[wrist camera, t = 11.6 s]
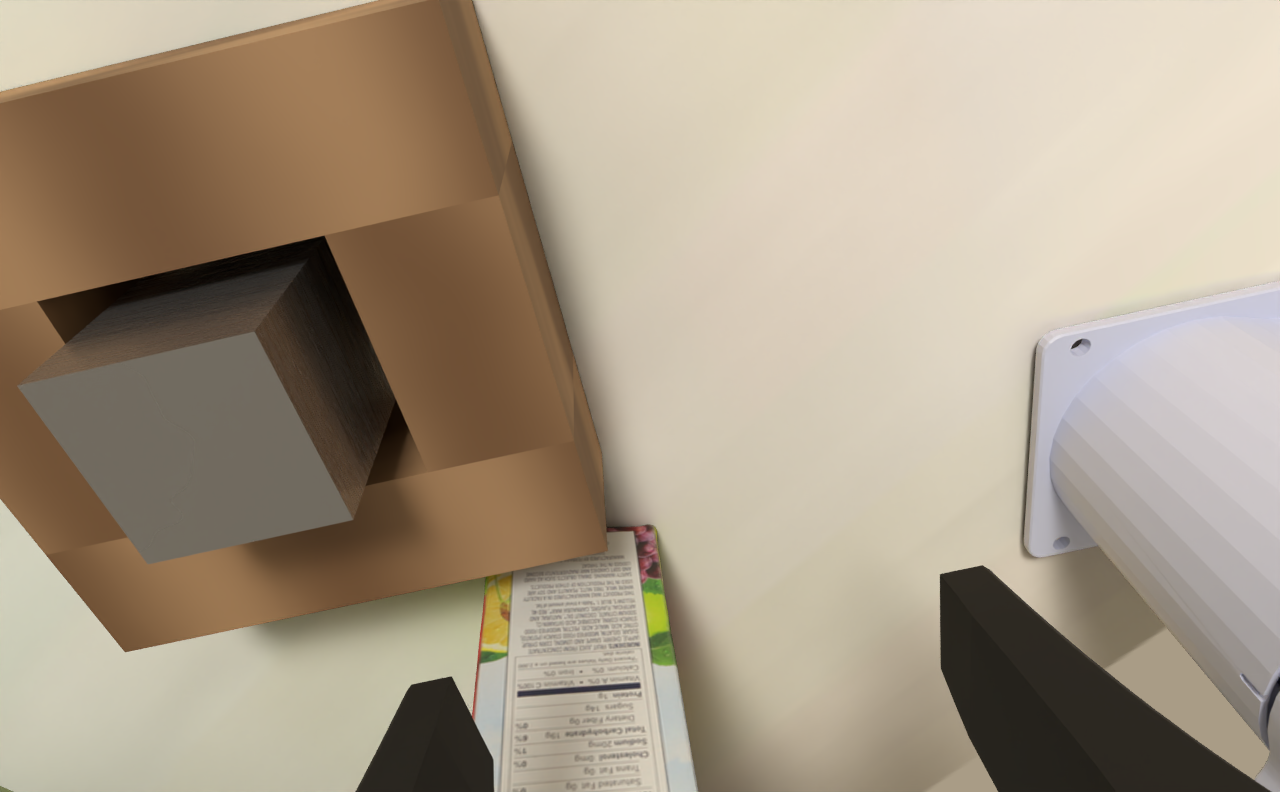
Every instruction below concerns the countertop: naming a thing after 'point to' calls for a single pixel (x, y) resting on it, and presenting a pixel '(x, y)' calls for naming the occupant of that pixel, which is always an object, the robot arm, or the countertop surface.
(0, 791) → the grocery bag
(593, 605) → the snack box
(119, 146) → the socket block
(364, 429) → the square bit
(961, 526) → the countertop surface
